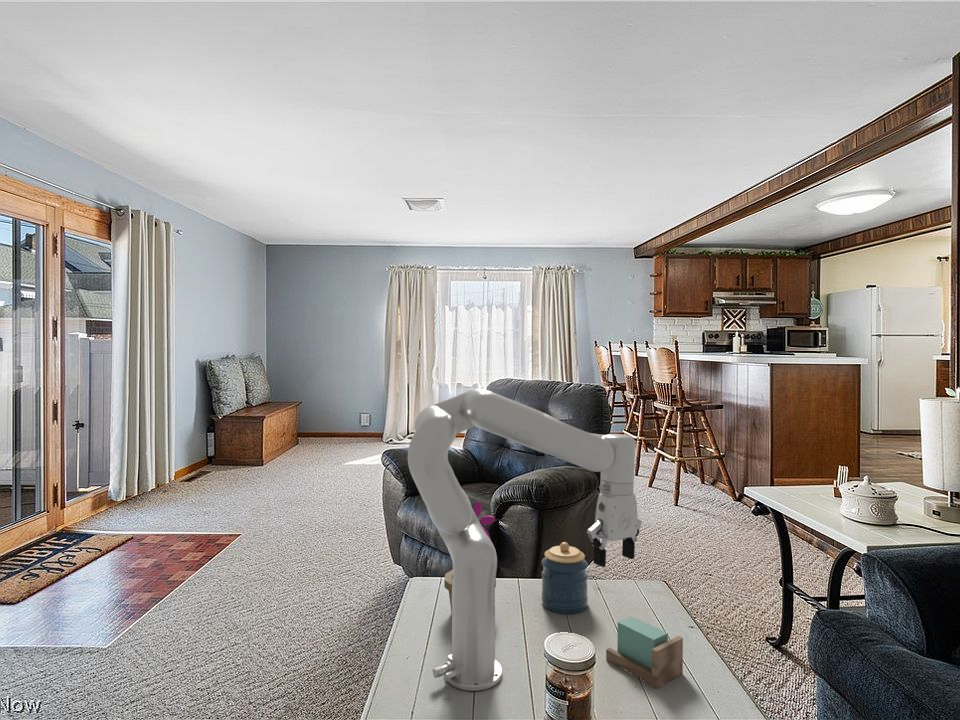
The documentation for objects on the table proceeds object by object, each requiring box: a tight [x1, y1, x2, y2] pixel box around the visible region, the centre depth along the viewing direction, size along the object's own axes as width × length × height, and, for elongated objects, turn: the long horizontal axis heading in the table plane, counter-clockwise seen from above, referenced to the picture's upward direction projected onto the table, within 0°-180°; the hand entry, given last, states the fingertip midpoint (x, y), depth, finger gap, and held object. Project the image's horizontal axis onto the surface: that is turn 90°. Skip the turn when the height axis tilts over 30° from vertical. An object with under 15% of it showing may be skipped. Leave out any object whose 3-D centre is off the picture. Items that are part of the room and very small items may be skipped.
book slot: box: [605, 635, 684, 689], centre depth 127 cm, size 9×14×8 cm
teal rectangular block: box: [617, 615, 669, 671], centre depth 127 cm, size 5×10×9 cm, turn 37°
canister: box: [541, 541, 589, 615], centre depth 159 cm, size 13×13×18 cm
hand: (614, 561), depth 130 cm, fingers open, 9 cm apart
